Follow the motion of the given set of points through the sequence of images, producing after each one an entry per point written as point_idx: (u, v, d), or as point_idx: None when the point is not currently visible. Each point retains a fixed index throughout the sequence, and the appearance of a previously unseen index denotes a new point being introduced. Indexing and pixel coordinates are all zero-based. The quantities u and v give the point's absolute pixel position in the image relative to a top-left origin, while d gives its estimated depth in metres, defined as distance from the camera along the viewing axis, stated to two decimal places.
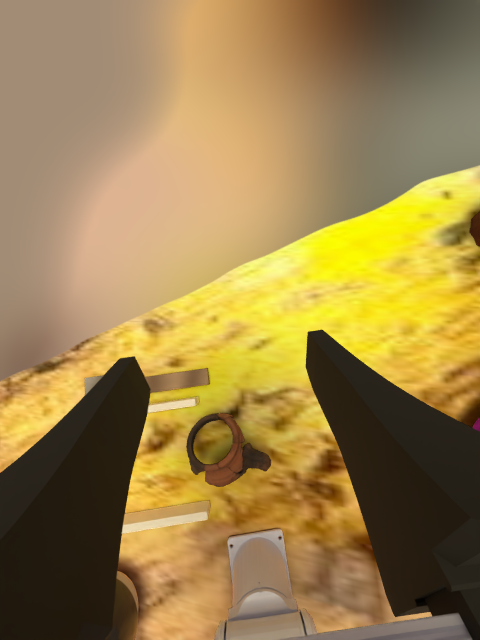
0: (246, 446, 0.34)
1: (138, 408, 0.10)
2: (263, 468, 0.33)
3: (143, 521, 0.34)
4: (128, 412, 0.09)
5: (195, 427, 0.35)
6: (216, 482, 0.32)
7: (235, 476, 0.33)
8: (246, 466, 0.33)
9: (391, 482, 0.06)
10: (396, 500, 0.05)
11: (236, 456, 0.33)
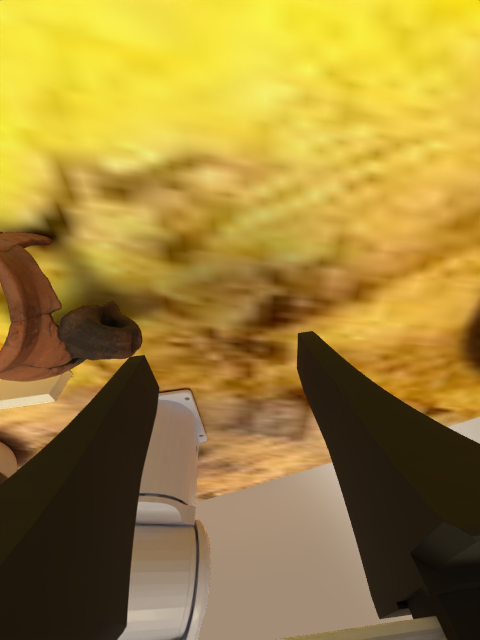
0: (68, 318, 0.14)
1: (148, 407, 0.10)
2: (117, 358, 0.15)
3: None
4: (139, 410, 0.09)
5: None
6: (22, 380, 0.15)
7: (62, 369, 0.15)
8: (78, 355, 0.15)
9: (374, 484, 0.06)
10: (377, 503, 0.05)
11: (39, 344, 0.13)
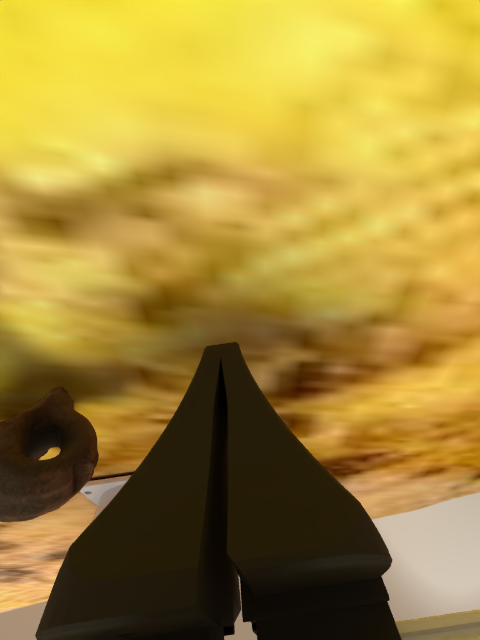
0: None
1: (227, 395, 0.10)
2: None
3: None
4: (224, 398, 0.09)
5: None
6: None
7: None
8: None
9: None
10: None
11: None
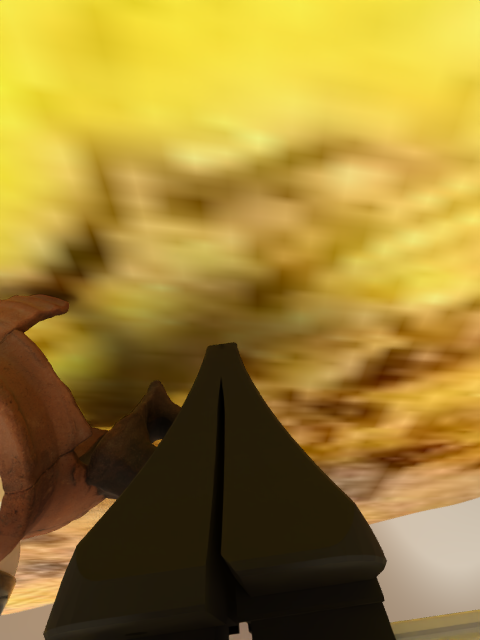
0: (103, 451, 0.08)
1: None
2: None
3: None
4: None
5: None
6: None
7: (89, 508, 0.10)
8: (117, 498, 0.09)
9: None
10: None
11: (56, 502, 0.08)
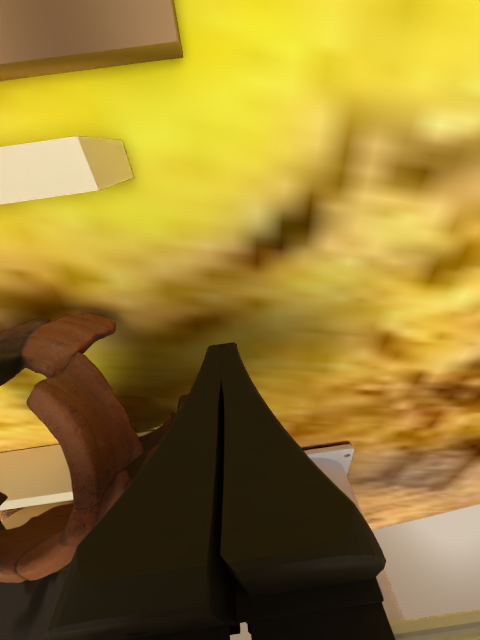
0: None
1: None
2: None
3: (55, 493, 0.14)
4: None
5: None
6: None
7: None
8: None
9: None
10: None
11: None
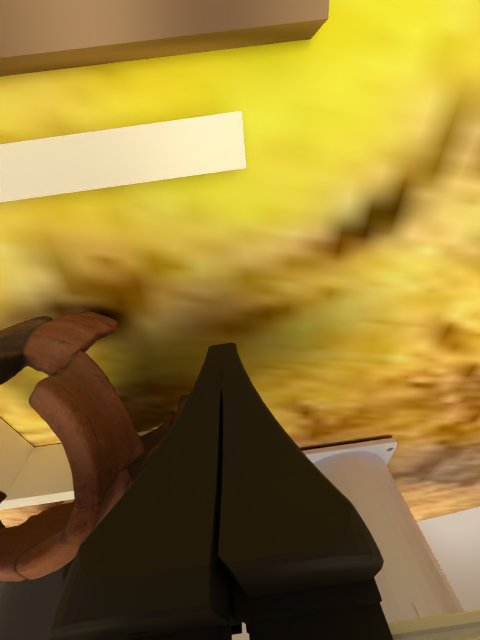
0: None
1: None
2: None
3: None
4: None
5: None
6: None
7: None
8: None
9: None
10: None
11: None
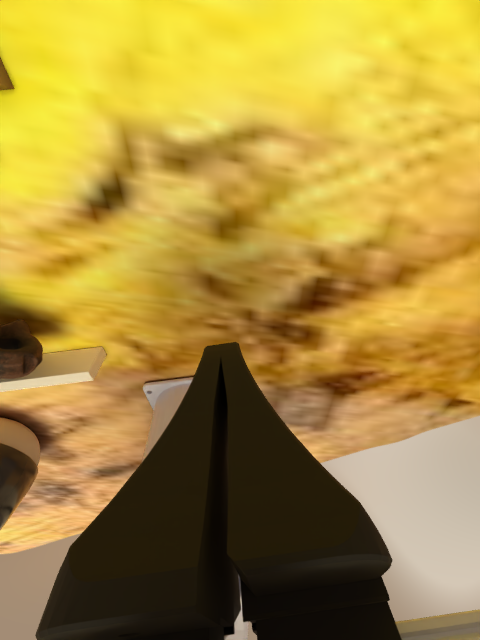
0: None
1: (227, 395, 0.10)
2: (7, 378, 0.16)
3: None
4: (224, 398, 0.09)
5: None
6: None
7: None
8: None
9: None
10: None
11: None
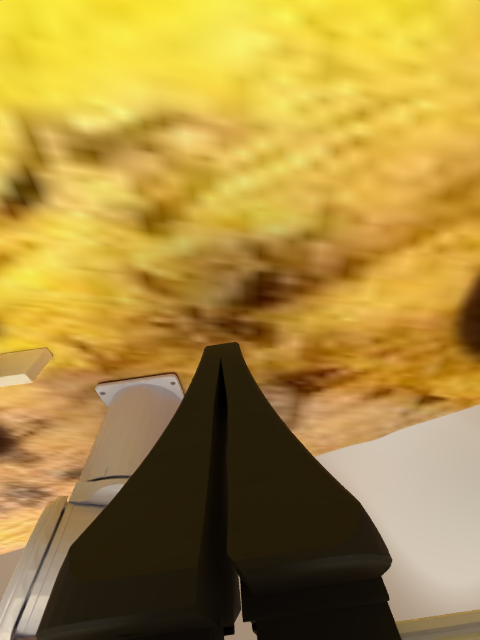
0: None
1: (227, 395, 0.10)
2: None
3: None
4: (224, 398, 0.09)
5: None
6: None
7: None
8: None
9: None
10: None
11: None
